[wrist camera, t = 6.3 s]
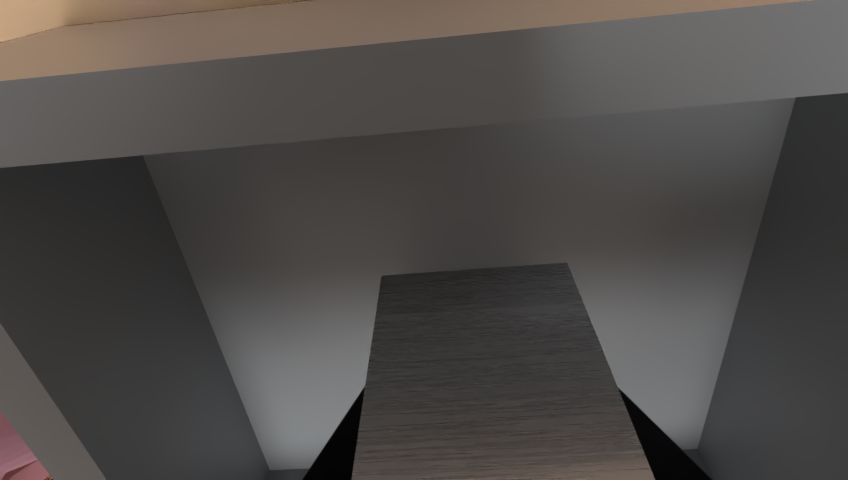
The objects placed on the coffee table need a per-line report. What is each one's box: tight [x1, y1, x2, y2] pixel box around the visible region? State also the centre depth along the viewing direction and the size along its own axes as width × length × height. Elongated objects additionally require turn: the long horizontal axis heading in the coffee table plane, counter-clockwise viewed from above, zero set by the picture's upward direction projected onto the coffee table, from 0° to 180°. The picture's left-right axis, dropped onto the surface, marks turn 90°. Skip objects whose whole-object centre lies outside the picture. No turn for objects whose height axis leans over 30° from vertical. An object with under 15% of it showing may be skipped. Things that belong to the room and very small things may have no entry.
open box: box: [0, 0, 848, 480], centre depth 12 cm, size 16×15×6 cm
